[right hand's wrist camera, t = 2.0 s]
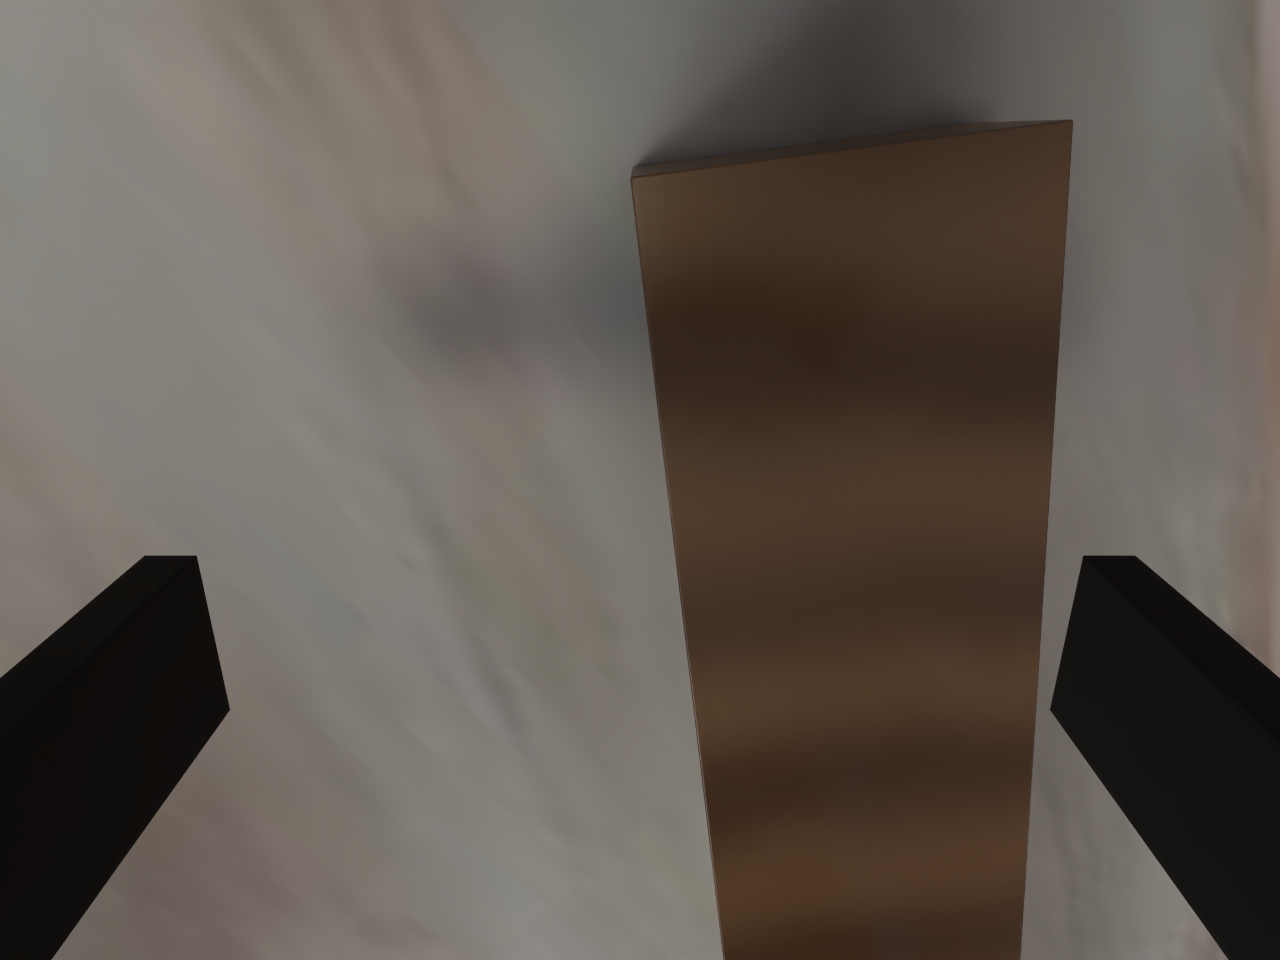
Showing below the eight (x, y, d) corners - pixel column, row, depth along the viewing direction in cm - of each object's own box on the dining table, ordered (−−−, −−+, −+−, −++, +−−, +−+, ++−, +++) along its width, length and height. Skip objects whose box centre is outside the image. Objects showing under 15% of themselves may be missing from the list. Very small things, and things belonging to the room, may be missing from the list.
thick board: (632, 166, 26) (630, 176, 20) (971, 122, 25) (1073, 119, 19) (753, 1196, 45) (771, 1361, 39) (948, 1182, 44) (996, 1346, 38)
